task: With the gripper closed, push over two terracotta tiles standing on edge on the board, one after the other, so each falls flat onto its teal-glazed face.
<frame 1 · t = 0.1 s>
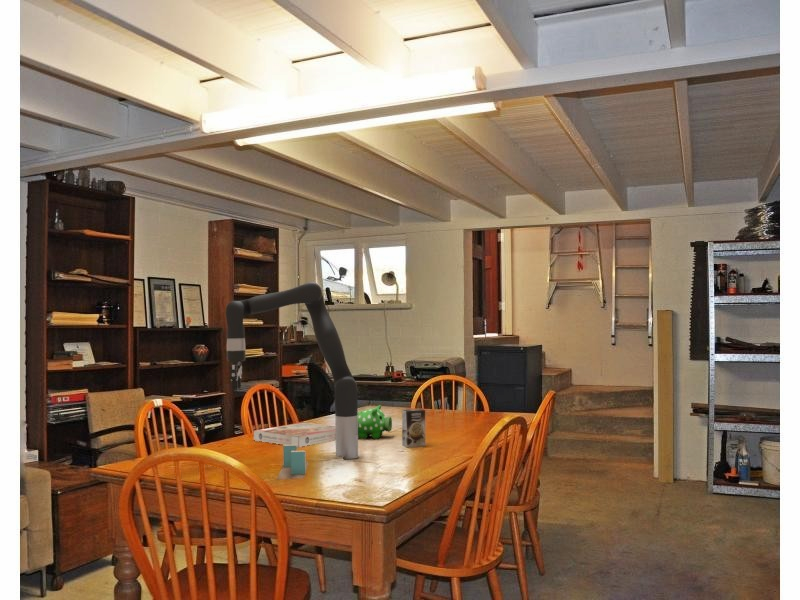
hand: (236, 389, 277), 29 cm above the table, tool pointing down, fingers open, 8 cm apart
tile 1: (290, 466, 258), point 1 cm above the table, touching board
pizza box: (301, 440, 326), on the table
board: (293, 473, 251), on the table
tile 2: (298, 473, 245), point 1 cm above the table, touching board
piggy bank: (372, 437, 327), on the table
coffee box: (414, 446, 304), on the table
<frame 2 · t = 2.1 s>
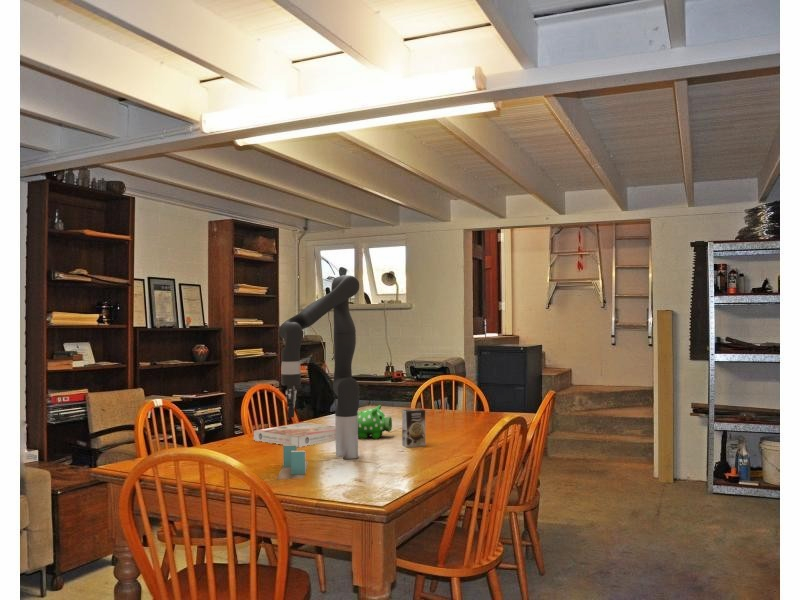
hand: (291, 417, 265), 19 cm above the table, tool pointing down, fingers closed
nothing on the table moved.
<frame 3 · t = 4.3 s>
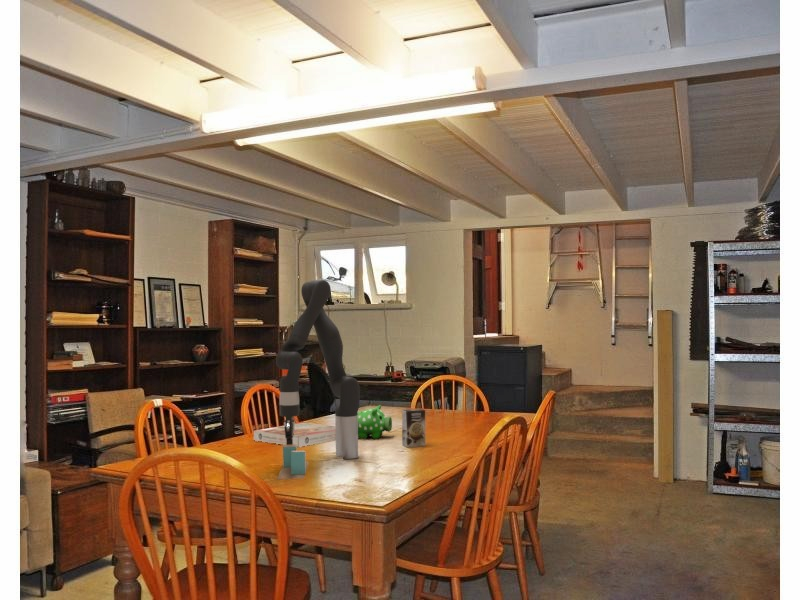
hand: (289, 448, 259), 8 cm above the table, tool pointing down, fingers closed
tile 1: (290, 465, 258), point 1 cm above the table, tilted 12°, touching board
everything else where it was.
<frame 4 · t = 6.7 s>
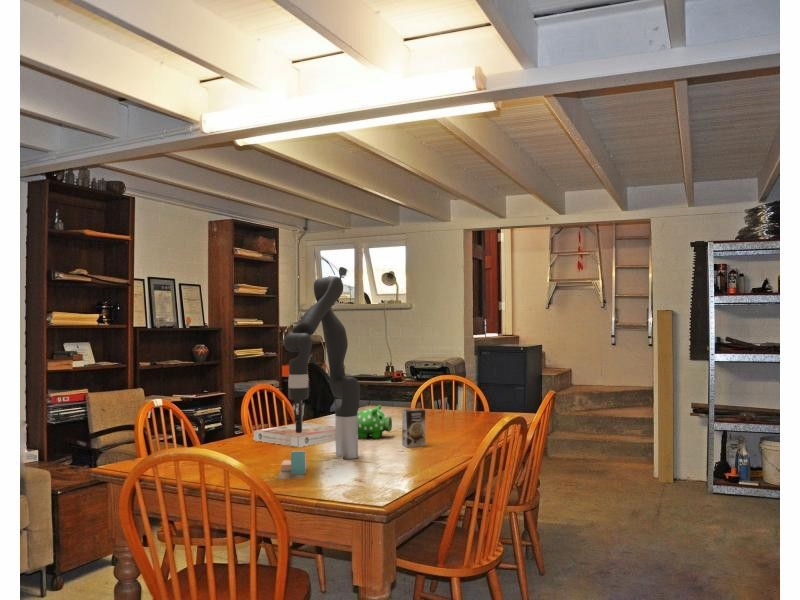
hand: (298, 432, 253), 15 cm above the table, tool pointing down, fingers closed
tile 1: (290, 463, 257), point 2 cm above the table, tilted 90°, touching board
everything else where it was.
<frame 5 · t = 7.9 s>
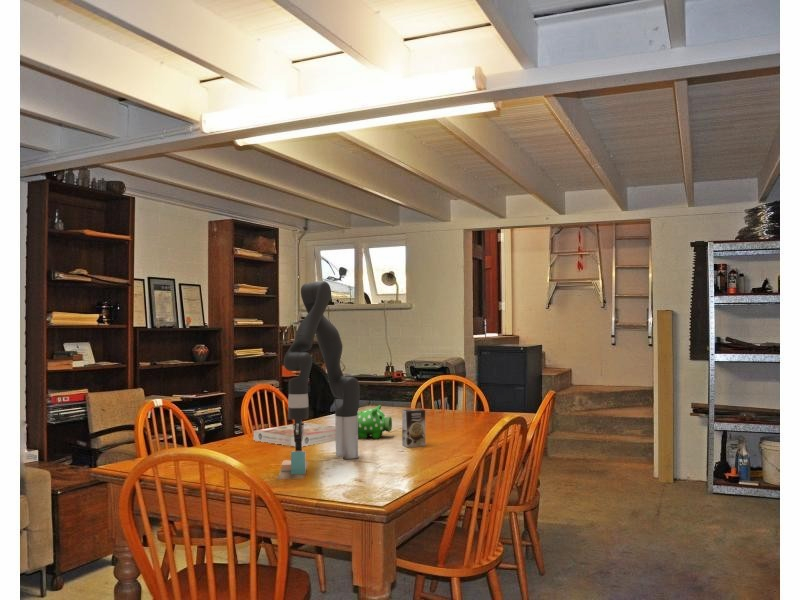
hand: (298, 452, 251), 8 cm above the table, tool pointing down, fingers closed
nothing on the table moved.
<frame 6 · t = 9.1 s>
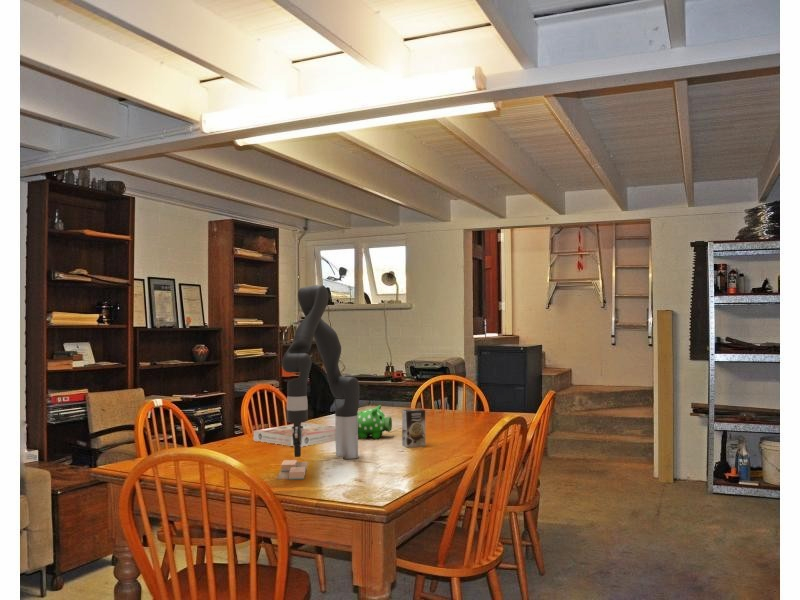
hand: (297, 456, 244), 8 cm above the table, tool pointing down, fingers closed
tile 2: (298, 470, 244), point 2 cm above the table, tilted 90°, touching board
everything else where it was.
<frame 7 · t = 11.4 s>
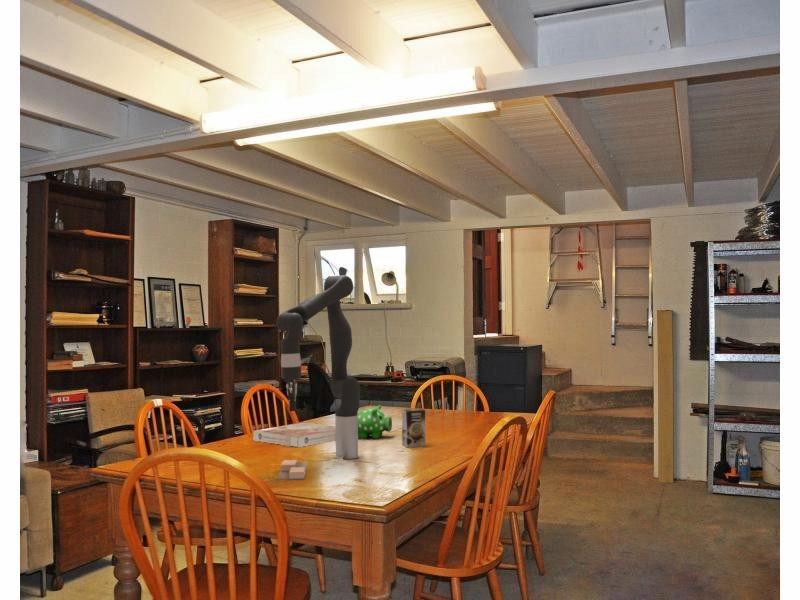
hand: (292, 410, 257), 22 cm above the table, tool pointing down, fingers closed
nothing on the table moved.
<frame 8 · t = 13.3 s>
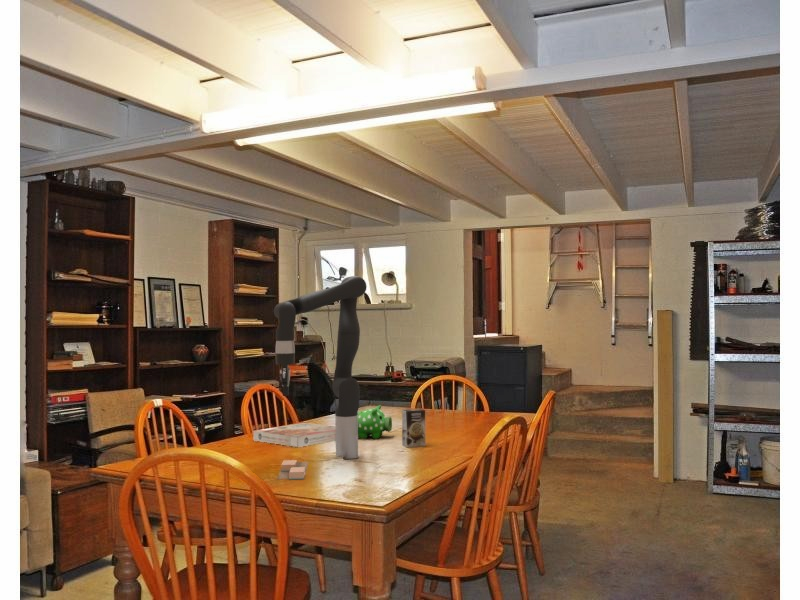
hand: (285, 395, 269), 27 cm above the table, tool pointing down, fingers closed
nothing on the table moved.
at the end: tile 1 tilted 90°; tile 2 tilted 90° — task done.
